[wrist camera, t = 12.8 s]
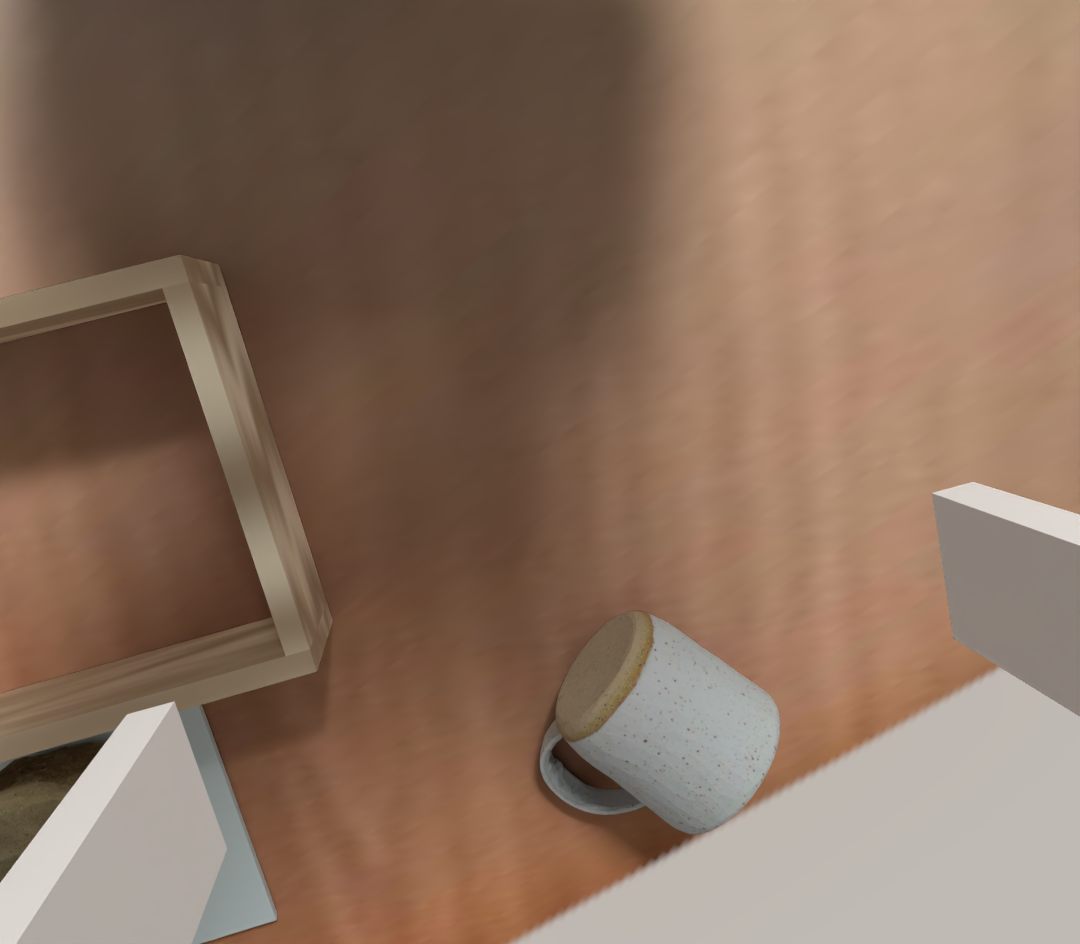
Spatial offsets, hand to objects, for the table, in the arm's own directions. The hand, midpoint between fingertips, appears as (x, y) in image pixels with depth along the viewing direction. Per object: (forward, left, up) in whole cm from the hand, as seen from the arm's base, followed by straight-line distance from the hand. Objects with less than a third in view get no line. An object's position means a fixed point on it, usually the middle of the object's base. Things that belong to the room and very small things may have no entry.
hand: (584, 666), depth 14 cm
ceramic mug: (+15, +4, -27) cm, 31 cm away
